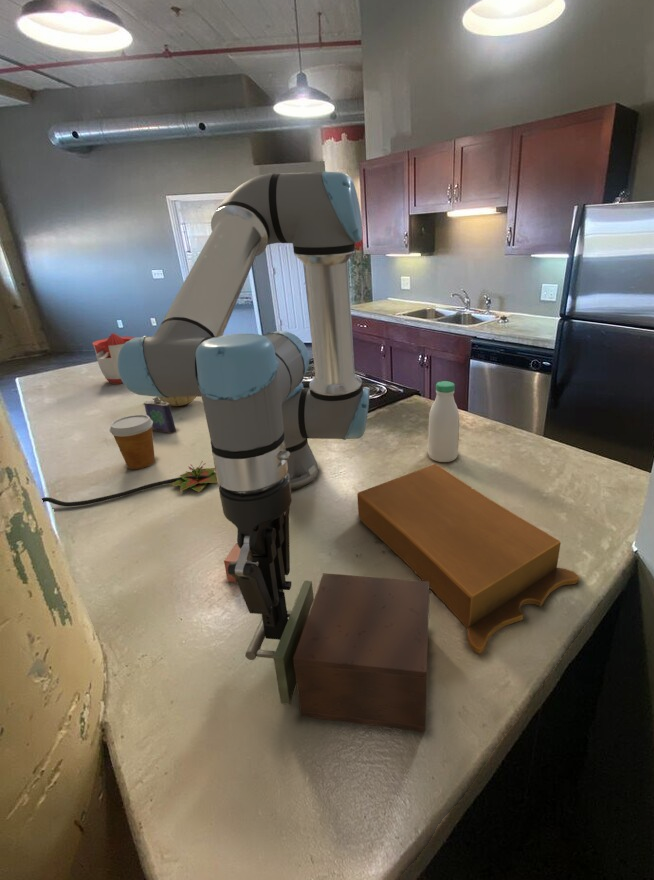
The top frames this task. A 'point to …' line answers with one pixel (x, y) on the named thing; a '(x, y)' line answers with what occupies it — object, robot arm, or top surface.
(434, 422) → the milk bottle
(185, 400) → the cantaloupe
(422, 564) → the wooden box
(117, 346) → the citrus juicer
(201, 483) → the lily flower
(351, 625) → the cabinet
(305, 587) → the drawer
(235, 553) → the block
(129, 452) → the disposable coffee cup
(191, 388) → the robot arm
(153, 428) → the flask
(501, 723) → the top surface
